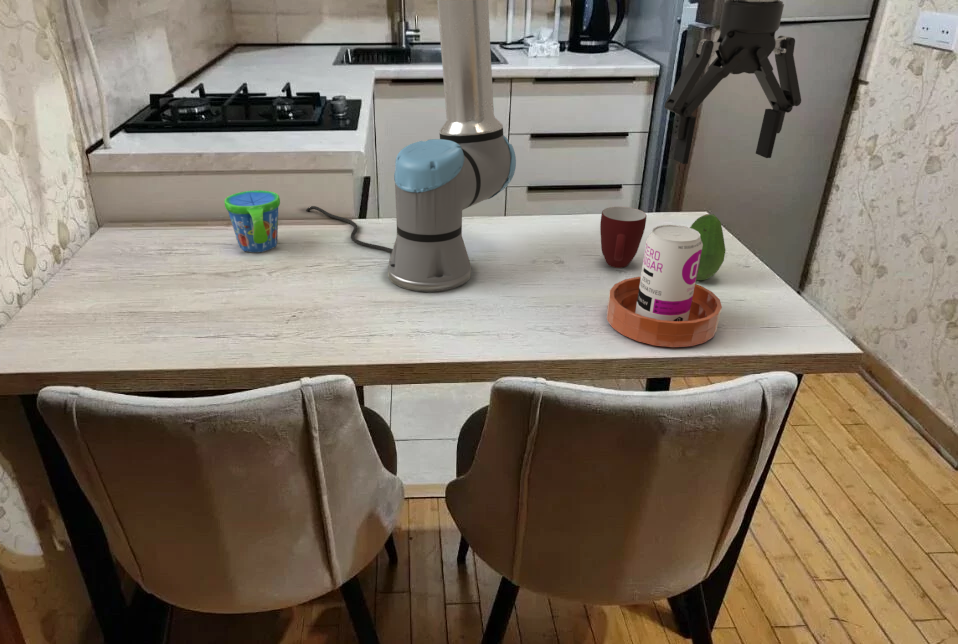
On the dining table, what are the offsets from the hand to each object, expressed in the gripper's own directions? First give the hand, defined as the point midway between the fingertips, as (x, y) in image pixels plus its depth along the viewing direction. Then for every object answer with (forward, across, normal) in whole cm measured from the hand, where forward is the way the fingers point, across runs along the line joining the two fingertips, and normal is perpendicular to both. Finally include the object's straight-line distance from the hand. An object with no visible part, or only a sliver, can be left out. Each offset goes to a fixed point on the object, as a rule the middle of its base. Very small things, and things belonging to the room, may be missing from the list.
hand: (722, 158), depth 107 cm
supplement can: (+26, -7, -2) cm, 26 cm away
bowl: (+26, -7, -2) cm, 27 cm away
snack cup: (+26, -69, +47) cm, 87 cm away
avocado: (+26, +8, +13) cm, 30 cm away
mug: (+26, -3, +21) cm, 33 cm away
